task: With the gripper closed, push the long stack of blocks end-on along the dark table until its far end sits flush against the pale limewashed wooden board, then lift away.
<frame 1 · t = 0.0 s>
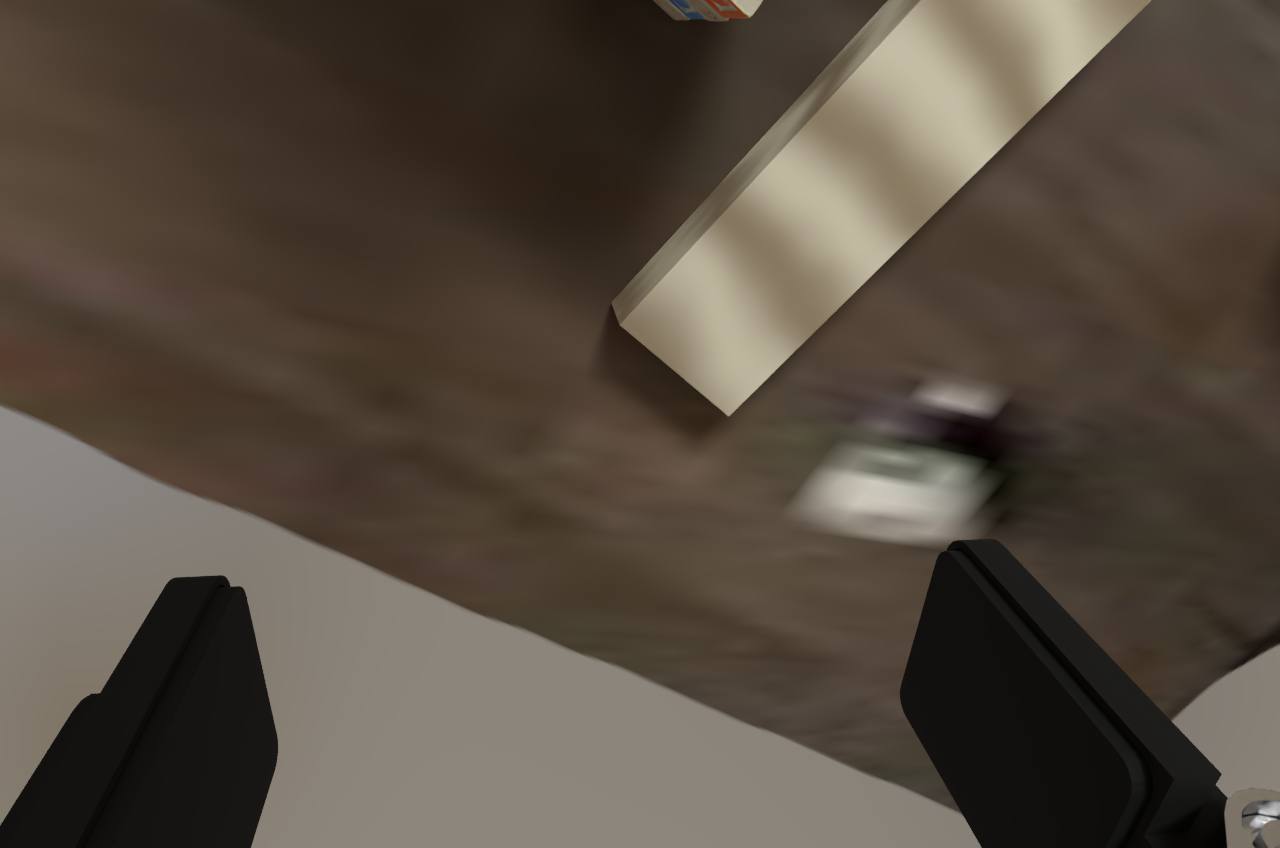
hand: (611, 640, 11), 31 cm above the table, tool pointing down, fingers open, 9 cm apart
board: (852, 150, 39), on the table
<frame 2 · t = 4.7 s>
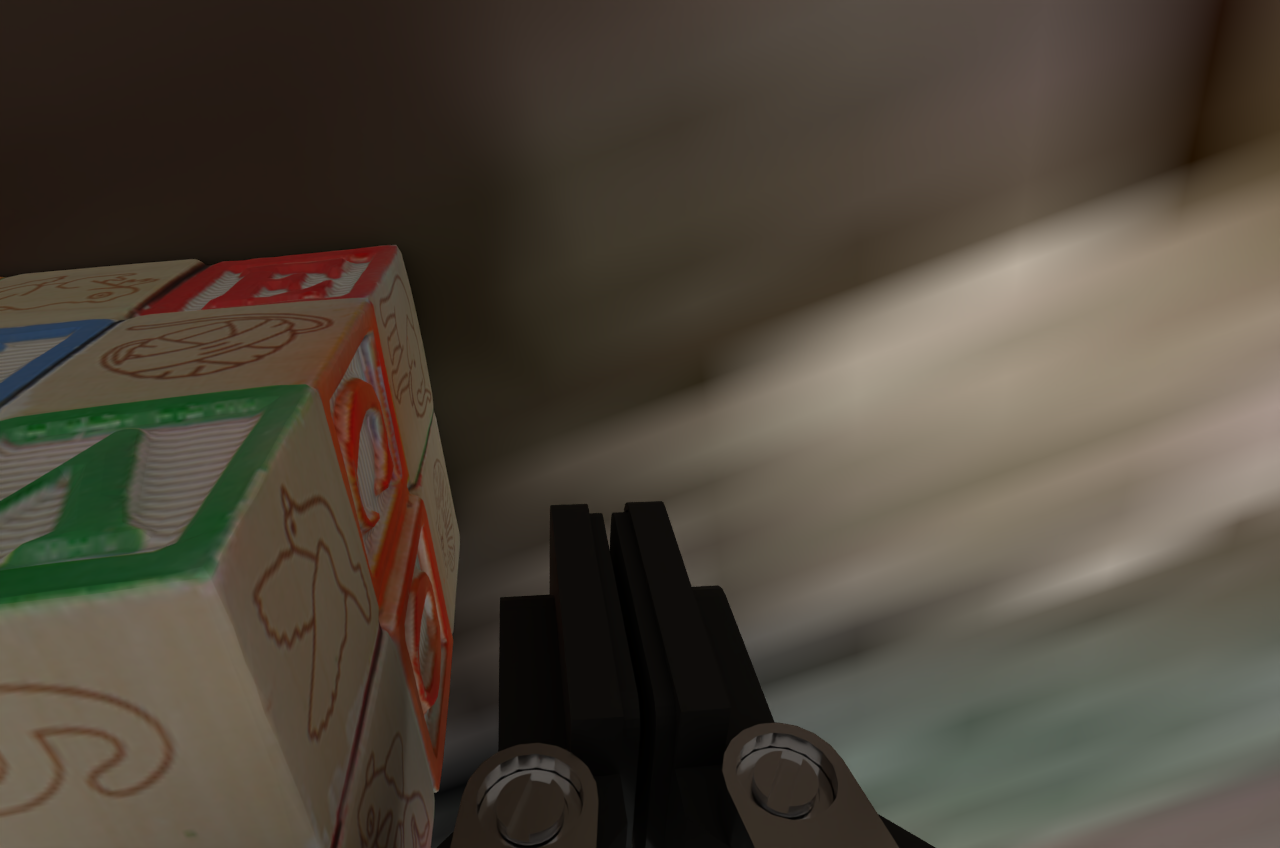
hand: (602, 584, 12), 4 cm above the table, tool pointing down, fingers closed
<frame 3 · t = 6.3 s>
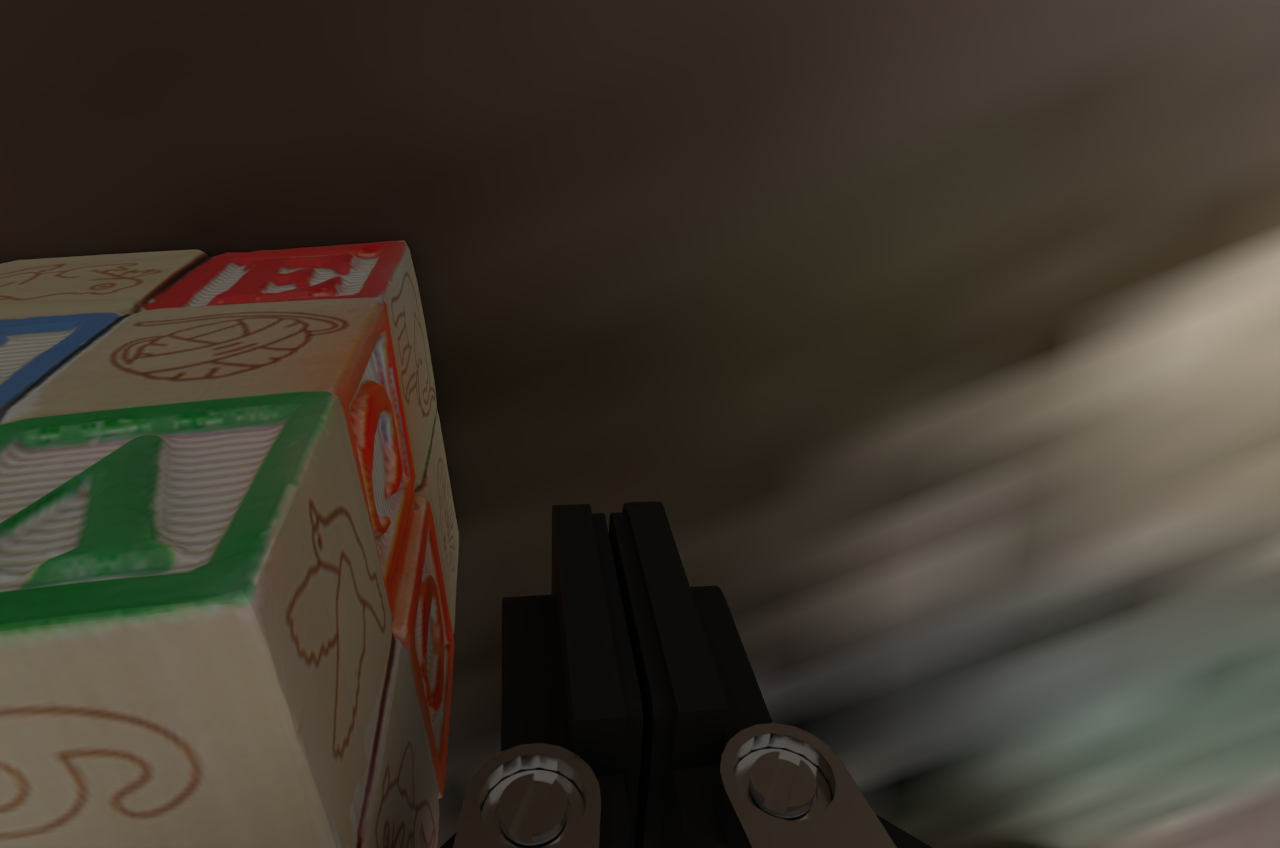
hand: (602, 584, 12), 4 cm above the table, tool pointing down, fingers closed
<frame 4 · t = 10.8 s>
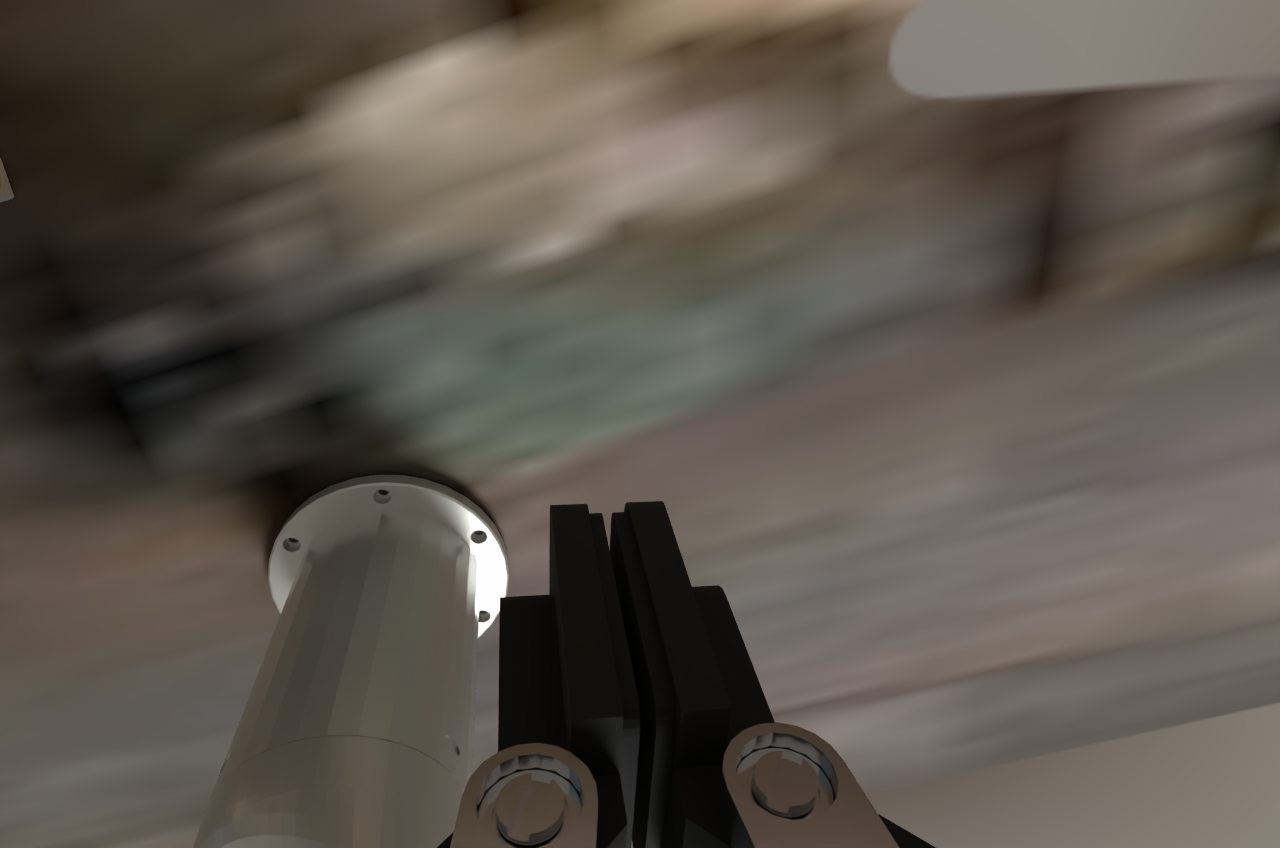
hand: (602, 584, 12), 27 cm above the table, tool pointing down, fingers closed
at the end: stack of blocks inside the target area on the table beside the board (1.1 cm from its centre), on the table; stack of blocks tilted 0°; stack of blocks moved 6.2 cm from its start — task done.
